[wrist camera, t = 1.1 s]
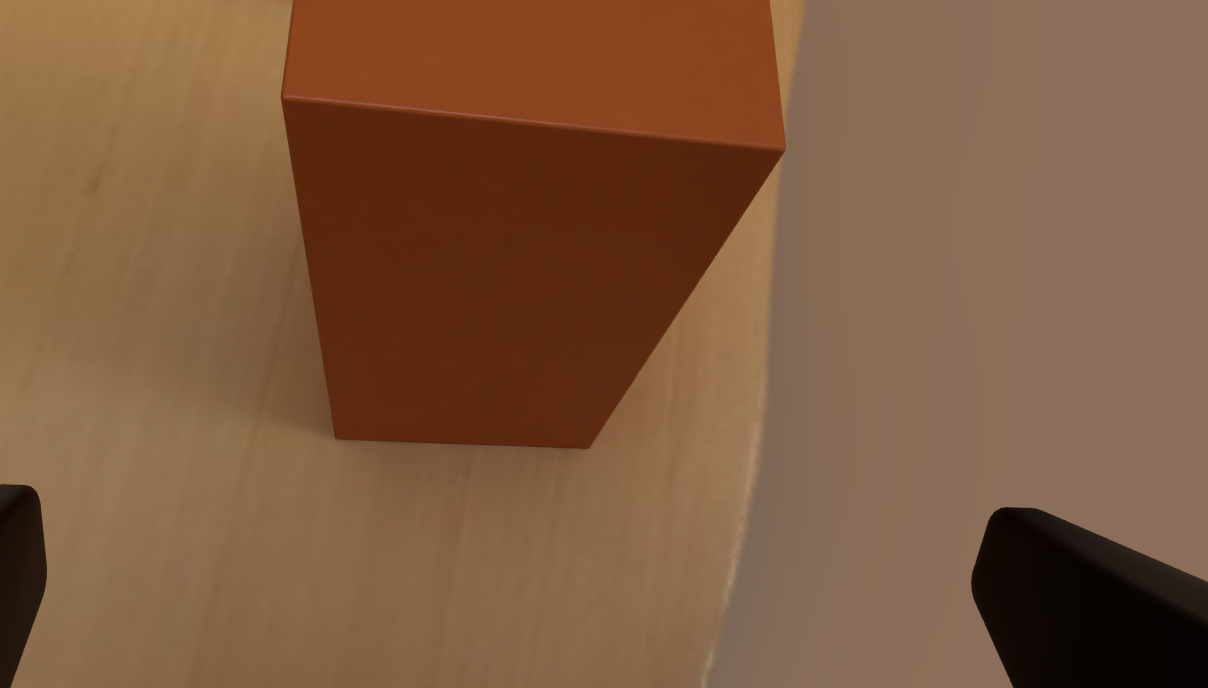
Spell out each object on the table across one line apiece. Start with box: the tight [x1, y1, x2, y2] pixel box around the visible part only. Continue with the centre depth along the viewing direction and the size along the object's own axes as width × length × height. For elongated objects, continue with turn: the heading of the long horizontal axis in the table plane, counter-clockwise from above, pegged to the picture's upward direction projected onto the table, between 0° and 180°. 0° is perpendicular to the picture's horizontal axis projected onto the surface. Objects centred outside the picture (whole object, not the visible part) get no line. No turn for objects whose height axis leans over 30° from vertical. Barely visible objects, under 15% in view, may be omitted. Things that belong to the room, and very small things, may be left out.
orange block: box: [281, 0, 786, 448], centre depth 18 cm, size 6×6×13 cm
